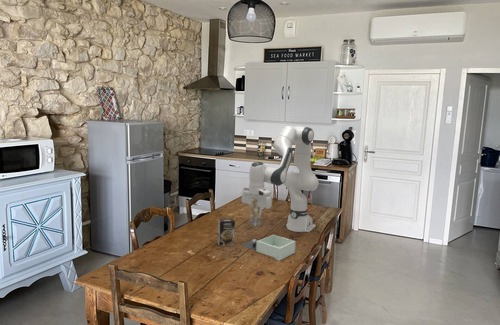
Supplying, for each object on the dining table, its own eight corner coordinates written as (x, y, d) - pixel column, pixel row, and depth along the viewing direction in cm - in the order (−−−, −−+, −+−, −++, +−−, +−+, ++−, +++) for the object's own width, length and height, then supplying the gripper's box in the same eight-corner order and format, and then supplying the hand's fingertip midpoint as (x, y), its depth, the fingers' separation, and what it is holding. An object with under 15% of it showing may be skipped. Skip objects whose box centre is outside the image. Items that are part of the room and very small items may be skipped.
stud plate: (252, 241, 233) (253, 234, 232) (268, 246, 225) (268, 238, 225) (240, 246, 223) (240, 238, 223) (255, 251, 216) (256, 244, 215)
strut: (249, 224, 222) (251, 198, 220) (254, 223, 226) (255, 197, 223) (255, 226, 220) (257, 200, 217) (260, 225, 223) (261, 198, 220)
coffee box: (219, 248, 220) (220, 221, 217) (217, 244, 226) (217, 218, 223) (234, 247, 222) (235, 220, 220) (232, 243, 228) (232, 217, 226)
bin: (272, 245, 227) (273, 234, 226) (294, 252, 217) (295, 241, 216) (256, 252, 215) (256, 241, 214) (279, 260, 205) (279, 248, 204)
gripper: (239, 187, 223) (239, 210, 225) (267, 193, 211) (266, 217, 213) (246, 186, 228) (245, 208, 230) (273, 191, 215) (272, 215, 218)
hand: (255, 212), depth 221 cm, fingers closed on strut, 4 cm apart
